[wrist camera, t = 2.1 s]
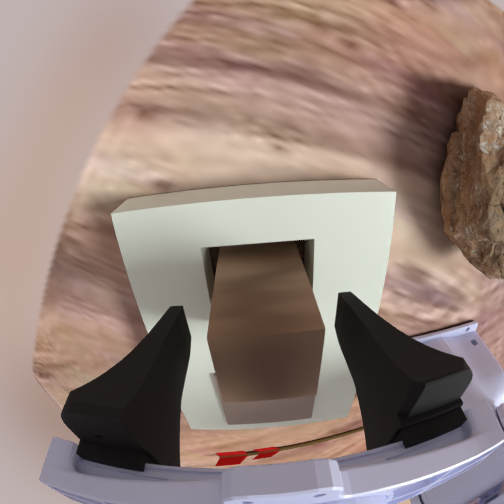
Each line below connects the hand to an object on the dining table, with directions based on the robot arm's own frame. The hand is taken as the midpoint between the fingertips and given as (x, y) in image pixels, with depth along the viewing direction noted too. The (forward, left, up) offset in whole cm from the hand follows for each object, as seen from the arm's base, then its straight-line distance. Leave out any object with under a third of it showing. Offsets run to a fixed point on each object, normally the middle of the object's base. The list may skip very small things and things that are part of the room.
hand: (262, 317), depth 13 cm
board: (0, +5, -5) cm, 7 cm away
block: (0, 0, -5) cm, 5 cm away
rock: (-16, -5, -5) cm, 18 cm away
